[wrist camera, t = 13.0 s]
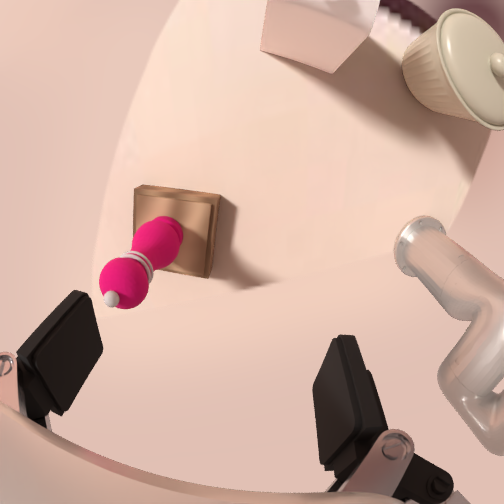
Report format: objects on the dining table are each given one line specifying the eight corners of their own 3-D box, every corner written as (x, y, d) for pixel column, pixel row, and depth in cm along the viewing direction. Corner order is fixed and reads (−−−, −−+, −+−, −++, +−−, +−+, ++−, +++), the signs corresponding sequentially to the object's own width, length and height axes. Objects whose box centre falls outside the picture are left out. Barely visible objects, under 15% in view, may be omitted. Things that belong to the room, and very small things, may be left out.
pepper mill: (189, 253, 45) (146, 333, 26) (149, 254, 45) (93, 327, 27) (183, 210, 42) (127, 272, 23) (142, 214, 42) (71, 272, 24)
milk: (349, 22, 31) (419, -52, 7) (332, 74, 35) (409, 18, 12) (280, -2, 30) (293, -100, 6) (259, 50, 34) (255, -39, 11)
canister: (452, 141, 38) (533, 160, 18) (374, 95, 36) (450, 78, 17) (467, 67, 30) (541, 59, 11) (395, 17, 29) (458, -24, 10)
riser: (220, 194, 44) (216, 200, 41) (211, 269, 50) (207, 280, 47) (142, 184, 44) (132, 189, 40) (140, 256, 50) (132, 266, 46)
